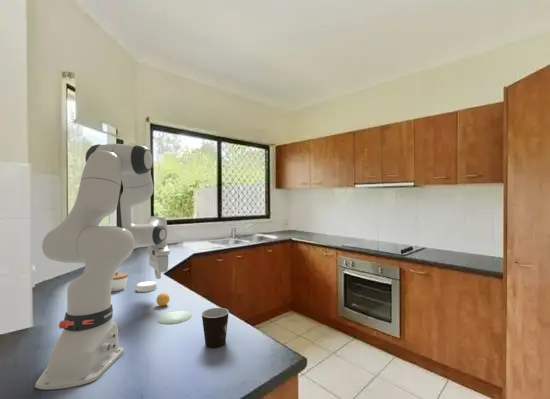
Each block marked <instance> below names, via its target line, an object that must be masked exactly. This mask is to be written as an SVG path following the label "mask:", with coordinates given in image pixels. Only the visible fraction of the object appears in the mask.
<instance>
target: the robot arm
mask: <svg viewBox="0 0 550 399" xmlns="http://www.w3.org/2000/svg"><path fill="white" fill-rule="evenodd" d="M153 160H154V158H153V154H152V151H151V150H150V149H149V148H148V147H147V146H144V145H140V144H135V145H134V144H127V143H126V144H124V143H107V144H106V143H105V144H102V143H98V144H94V145H92V146H90V147H89V148H88V149H87V151H86V153H85V165H84V168H83V170H82V174H81V177H80V182H79V187H78V192H77V195H76V199H75V202H74V204H73V207H72V209H71V210H70V212H69V213H68V215H67V216H66V217H65V218H64V219H63V221H62V222H61V223H60V224H58V225H57V226H56V227H55V228H53V229H51V230H50V231H49V232H47V233H46V234H45V236H44V238H43V241H42V244H41V245H42V246H41V248H42V249H41V250H42V252H43V255H44V256H45V257H46V258H47V259H49V260H51V261H54V262H59V263H65V264H66V263H67V264H69V263H70V264H71V263H74V264H75V263H76V264H85V265H84V269H83V272H82V274H81V275H79V276H78V277H76V278H74V279H73V280H72V281H71V282H70V283H69V285H67V288H66V290H67V291H66V312H65V315H64V318H63V320H59V323H58V329H62V331H61V333H60V335H59V337H58V339H57V341H56V343H55V345H54V347H53V349H52V351H51V353H50V354H49V357H48V362H47V367H46V368H45V369H44V371H43V372H42V373H41V374H40V376H39V378H38V379H37V381H36V382H35V385H34V388H36V389H38V390H44V391H45V390H48V391H49V390H61V389H68V388H74V387H79V386H82V385H86V384H89V383H91V382H94V381H96V380H97V379H98V378H99V377H101V375H103V374H104V372H106V371H107V370H108V369H109V368H110V367H111V366H112V365H113V364H114V363H115V362H116V361H117V360H118V359H119V358H120V357H121V356H122V355H123V354H124V353H125V349H124V348H123V347H121V346H120V345H119V344H120V343H119V329H118V328H119V327H118V324H117V323H116V322H115V321H114V320H113V316H114V315H113V312H114V308H113V304H112V291H111V287H112V279H113V276H114V274H115V272H117V269H118V268H119V266H120V265H121V264H122V263H123V262H124V261H125V260H127V259H128V258H129V257H130V256H131V255H132V253H133V252H134V249H135V247H147V254H148V256H149V259H148V263H149V266H150V267H151V268H153V270H154V276H155V279H156V280H160V279H161V278H162V276H161V275H162V273H166V272H168V268H169V255H170V249H169V247H168V223H167V219H166V216H162V215H152V216H149V217H148V221H147V223H145V224H136V223H133V222H132V207H135V206H137V205H140V204H142V203H144V202H146V201H148V200H149V199H150V198H151V197H152V195H153V193H154V183H153V178H152V174H151V169H152V168H153V164H154V163H153V162H154V161H153ZM121 186H122V189H123V190H122V192H121V193H120V191H121ZM116 209H117V213H118V214H117V215H118V216H117V217H118V226H116V225H115V226H114V225H100V223H101V222H102V221H103V219H105V218H106V217H108V216H110V215H111V214H113V213H115V211H116Z"/></svg>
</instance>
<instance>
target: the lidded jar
mask: <svg viewBox="0 0 550 399" xmlns="http://www.w3.org/2000/svg"><path fill="white" fill-rule="evenodd" d="M127 283H128V273H125V272H119V273H118V271H115V274H114V276H113V279H112V287H111V292H119V291H122V290H124V288H125V287H126V286H127Z"/></svg>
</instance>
